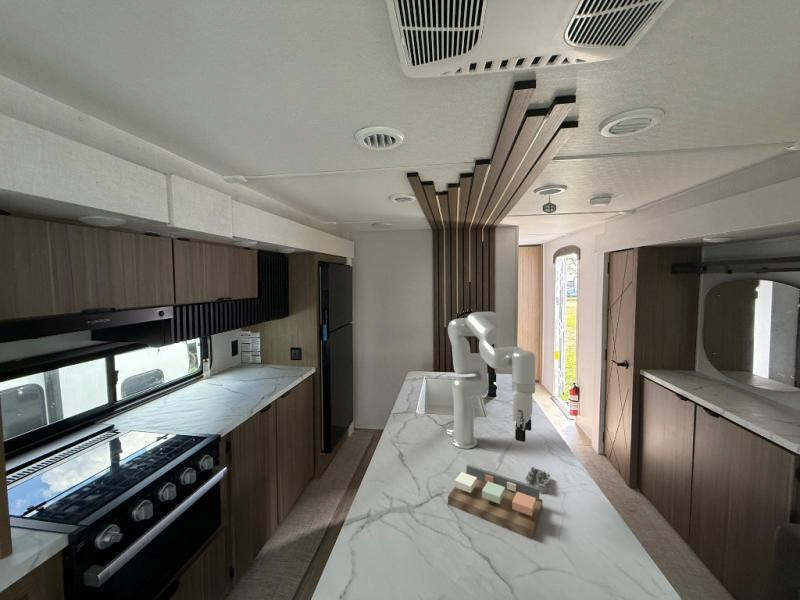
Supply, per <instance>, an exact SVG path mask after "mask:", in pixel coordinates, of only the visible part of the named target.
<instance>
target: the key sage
mask: <svg viewBox="0 0 800 600" xmlns="http://www.w3.org/2000/svg"><path fill="white" fill-rule="evenodd" d="M504 495H505V487H503V486H500V485H497V484H494V483H491V482H489V481H488V482H487V483H486V485H485V487H484V488H483V490H482V498H485V499H488V500H490V501H493V502H496V503H498V504H500V502H501V501H502V499H503V497H504Z"/></svg>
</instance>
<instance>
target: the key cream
mask: <svg viewBox="0 0 800 600" xmlns="http://www.w3.org/2000/svg"><path fill="white" fill-rule="evenodd" d="M476 484H477V477H474V476H471V475H469V474H466V472H462V471H461V472H460V473H459V474H458V476H457V477H456V478H455V480H454V487H456V488H459V489H462V490H464V491H467V492H469V493H471V492H472V490H473V489H474V487H475V486H476Z"/></svg>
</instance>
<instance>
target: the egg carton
mask: <svg viewBox="0 0 800 600" xmlns="http://www.w3.org/2000/svg"><path fill="white" fill-rule="evenodd" d="M534 477H535V482H536V483H537V484H535V483H533V484H532V482H533V481H534ZM544 479H545V481H543V480H544ZM525 480H526V484H528V485H531V486H534V487H538V488H540V490H539V494H546V493H547V491H548V487H549V484H550V480H551V475H550V473H548V472H547V473H546V471H545V470H544V471H543V470H542V469H539V468H536V467H534V466H532V467H531V468H530V470H529V472H528V473H527V475H526V477H525Z"/></svg>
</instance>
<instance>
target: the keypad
mask: <svg viewBox="0 0 800 600" xmlns="http://www.w3.org/2000/svg"><path fill="white" fill-rule="evenodd" d="M465 473H466V474H469V475H471V476H474V477H477V484H476V486H475V487H474V489H473V490H472V492H471V493H469V492H467V491H464V490H462V489H459V488H456V487H455V486H454V487H453V488H452V490H451V491H450V492H449V494H448V496H447V505H449V506H451V507H454V508H457V509H459V510H461V511H463V512H466V513H467V514H471V515H472V516H475V517H478V518H480V519H483V520H485V521H487V522H490V523H491V524H494V525H496V526H499V527H501V528H505V529H506V528H507V530H509V531H512V532H513V531H514V533H516V534H518V535H520V536H523V537H525V536H526V538H528V539H530V540H533V538H534V535H535V532H536V530H537V525H538V524H539V523H538V522H539V520H540V517H541V513H542V509H543V504H544V503H543V499H541V498H540V493H539V490H540V488H538V487H534V486H531V485H532V484H531V485H528V484H527V483H525V482H522V481H519V480H516V479H513V478H510V477H507V476H504V475H501V474H497V473H495V472H492V471H489V470H486V469H484V468H479V467H477V466H474V465H472V464H471V465H470V464H467V465H466V472H465ZM488 481H489V482H491V483H494V484H497V485H500V486H503V487H505V495H504V497H503V499H502V501H501V502H500V504H498V503H496V502H493V501H490V500H488V499H485V498H482V490H483V488H484V487H485V485H486V483H487V482H488ZM516 492H520V493H523V494H526V495H529V496H532V497H534V498H536V506H535V508H534V511H533V514H532V516H530V515H527V514H524V513H522V512H519V511H517V510H514V509H512V501H513V499H514V497H515V495H516Z"/></svg>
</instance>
